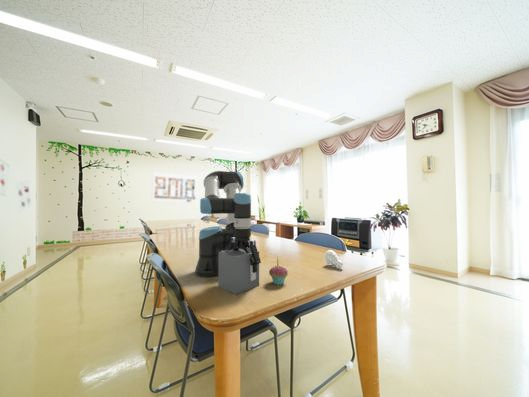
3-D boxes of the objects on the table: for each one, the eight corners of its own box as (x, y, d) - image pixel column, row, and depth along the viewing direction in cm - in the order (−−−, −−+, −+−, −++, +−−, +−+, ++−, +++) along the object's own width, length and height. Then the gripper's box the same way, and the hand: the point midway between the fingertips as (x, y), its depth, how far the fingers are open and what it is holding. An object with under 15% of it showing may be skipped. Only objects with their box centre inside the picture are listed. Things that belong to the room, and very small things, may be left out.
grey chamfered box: (218, 286, 88) (218, 252, 89) (241, 278, 97) (242, 247, 98) (235, 294, 80) (235, 257, 80) (259, 285, 89) (259, 251, 89)
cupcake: (286, 287, 87) (286, 258, 87) (267, 285, 89) (267, 257, 89) (288, 279, 96) (288, 254, 96) (270, 278, 97) (270, 253, 98)
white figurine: (332, 248, 122) (347, 255, 110) (331, 262, 122) (346, 270, 111) (323, 249, 120) (337, 256, 108) (323, 263, 120) (336, 272, 109)
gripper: (218, 226, 96) (218, 272, 95) (257, 230, 80) (257, 286, 79) (230, 225, 101) (230, 268, 101) (269, 229, 86) (269, 280, 85)
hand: (242, 276), depth 90 cm, fingers closed on grey chamfered box, 12 cm apart
